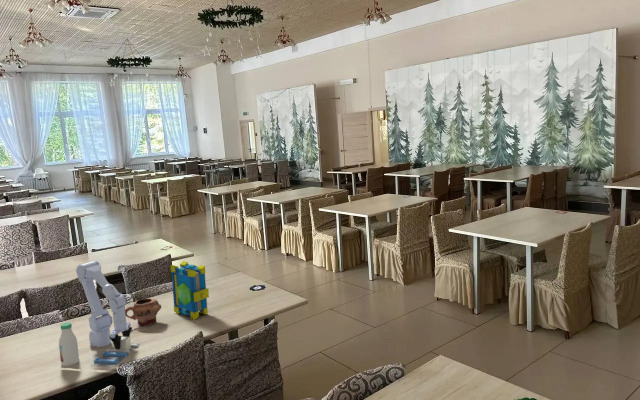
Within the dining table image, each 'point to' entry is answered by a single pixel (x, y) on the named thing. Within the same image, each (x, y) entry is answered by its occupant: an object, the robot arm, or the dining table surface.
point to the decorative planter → (144, 311)
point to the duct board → (113, 356)
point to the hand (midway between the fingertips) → (122, 345)
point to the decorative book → (189, 289)
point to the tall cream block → (124, 343)
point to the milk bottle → (68, 346)
